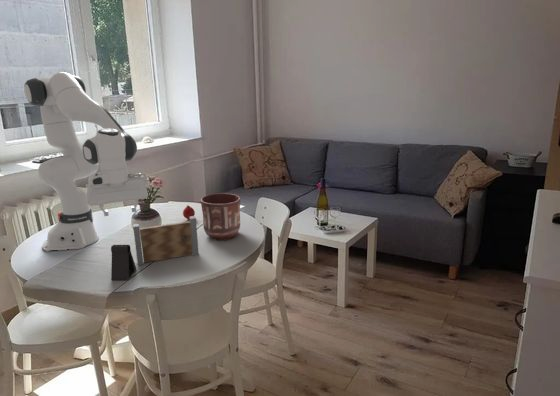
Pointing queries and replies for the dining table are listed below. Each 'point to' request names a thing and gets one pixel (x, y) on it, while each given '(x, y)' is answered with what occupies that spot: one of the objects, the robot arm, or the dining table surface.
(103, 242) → the dining table surface
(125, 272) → the phone stand
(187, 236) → the door
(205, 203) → the pottery
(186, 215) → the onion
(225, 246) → the dining table surface
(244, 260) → the dining table surface
